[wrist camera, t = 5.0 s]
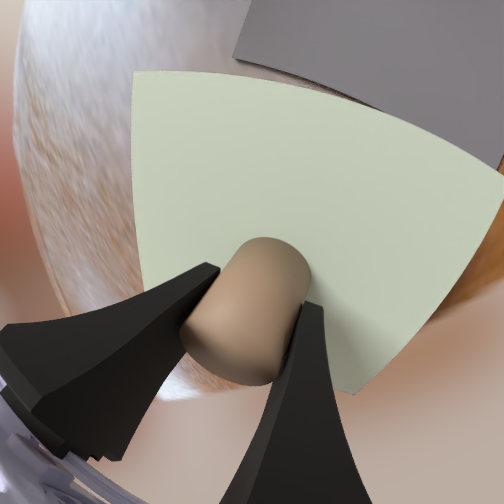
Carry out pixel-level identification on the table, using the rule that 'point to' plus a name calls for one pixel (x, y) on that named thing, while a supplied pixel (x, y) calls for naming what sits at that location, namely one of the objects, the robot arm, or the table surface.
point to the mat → (395, 59)
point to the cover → (299, 219)
